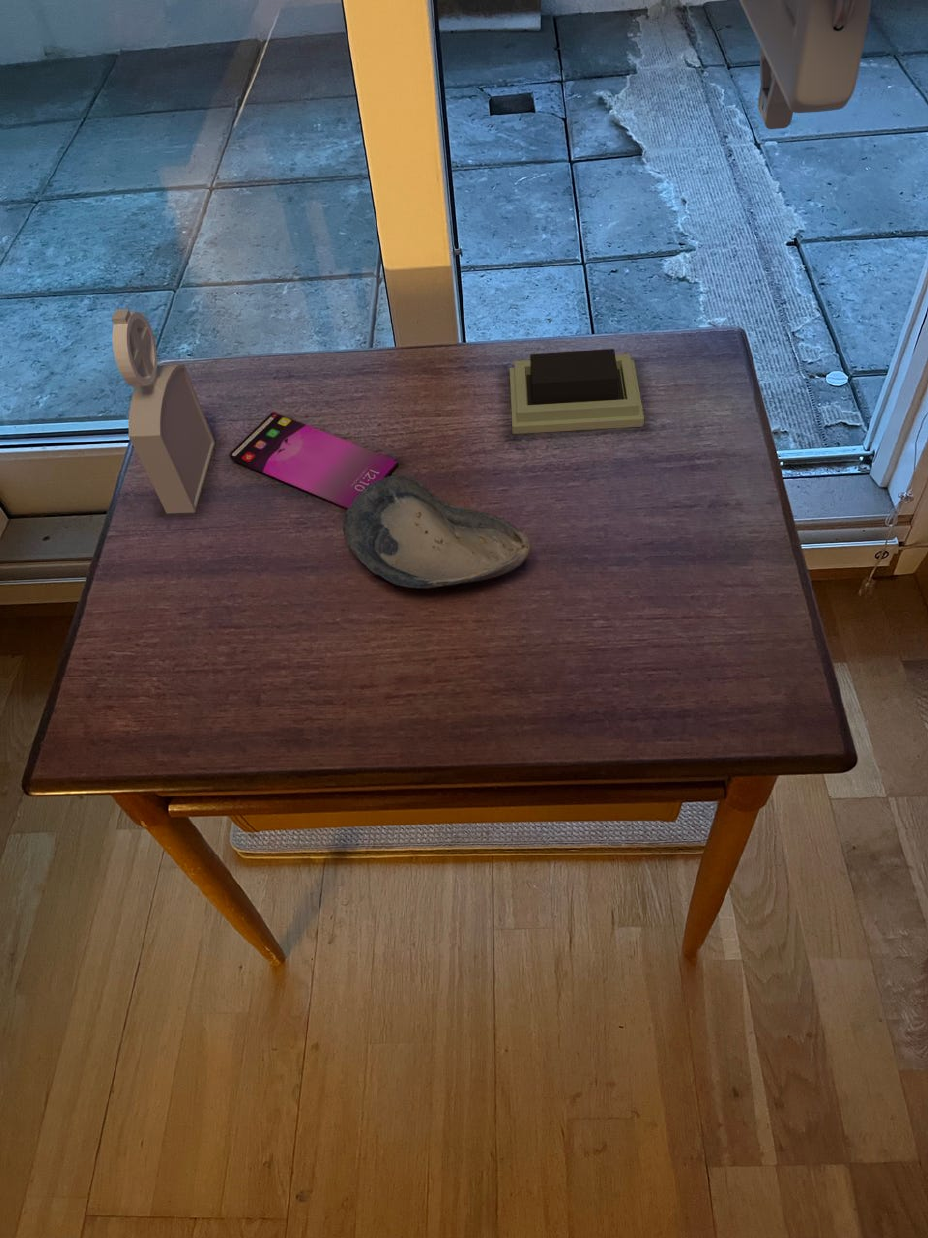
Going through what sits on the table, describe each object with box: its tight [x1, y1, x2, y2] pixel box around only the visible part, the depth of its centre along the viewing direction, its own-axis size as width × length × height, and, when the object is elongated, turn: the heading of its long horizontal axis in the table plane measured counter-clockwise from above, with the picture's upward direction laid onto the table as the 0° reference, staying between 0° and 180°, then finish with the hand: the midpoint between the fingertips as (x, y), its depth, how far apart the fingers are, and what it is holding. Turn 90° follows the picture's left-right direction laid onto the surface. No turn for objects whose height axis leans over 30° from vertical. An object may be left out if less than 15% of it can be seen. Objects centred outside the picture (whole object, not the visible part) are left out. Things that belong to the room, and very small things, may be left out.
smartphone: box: [228, 411, 399, 510], centre depth 87 cm, size 7×15×1 cm, turn 59°
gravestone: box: [111, 308, 216, 515], centre depth 80 cm, size 3×9×18 cm, turn 178°
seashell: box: [342, 475, 532, 589], centre depth 77 cm, size 15×12×5 cm
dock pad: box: [509, 352, 645, 435], centre depth 89 cm, size 12×9×2 cm
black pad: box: [529, 348, 619, 405], centre depth 87 cm, size 8×4×3 cm, turn 90°
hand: (773, 119), depth 66 cm, fingers closed
